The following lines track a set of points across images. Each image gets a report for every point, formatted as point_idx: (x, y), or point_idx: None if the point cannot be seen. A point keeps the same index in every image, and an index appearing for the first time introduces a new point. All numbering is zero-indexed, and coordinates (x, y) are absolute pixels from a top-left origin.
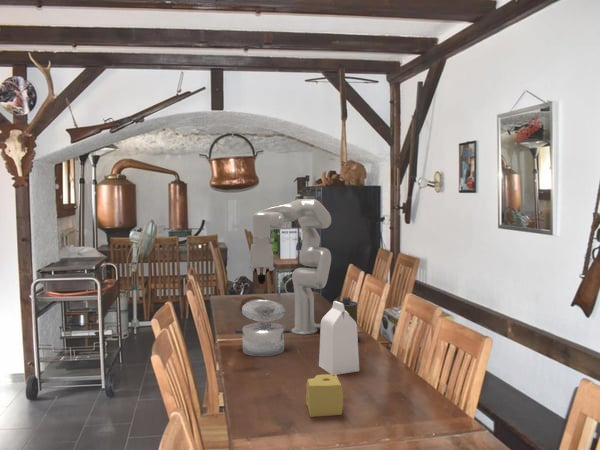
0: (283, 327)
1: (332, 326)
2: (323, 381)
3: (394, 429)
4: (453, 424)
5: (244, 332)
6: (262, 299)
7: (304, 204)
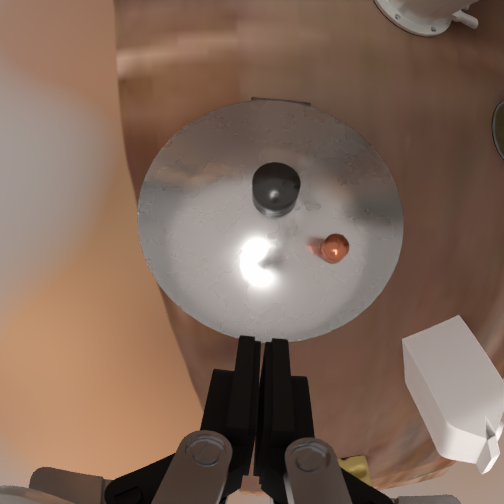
0: None
1: (439, 453)
2: None
3: (391, 478)
4: (441, 463)
5: None
6: None
7: None
